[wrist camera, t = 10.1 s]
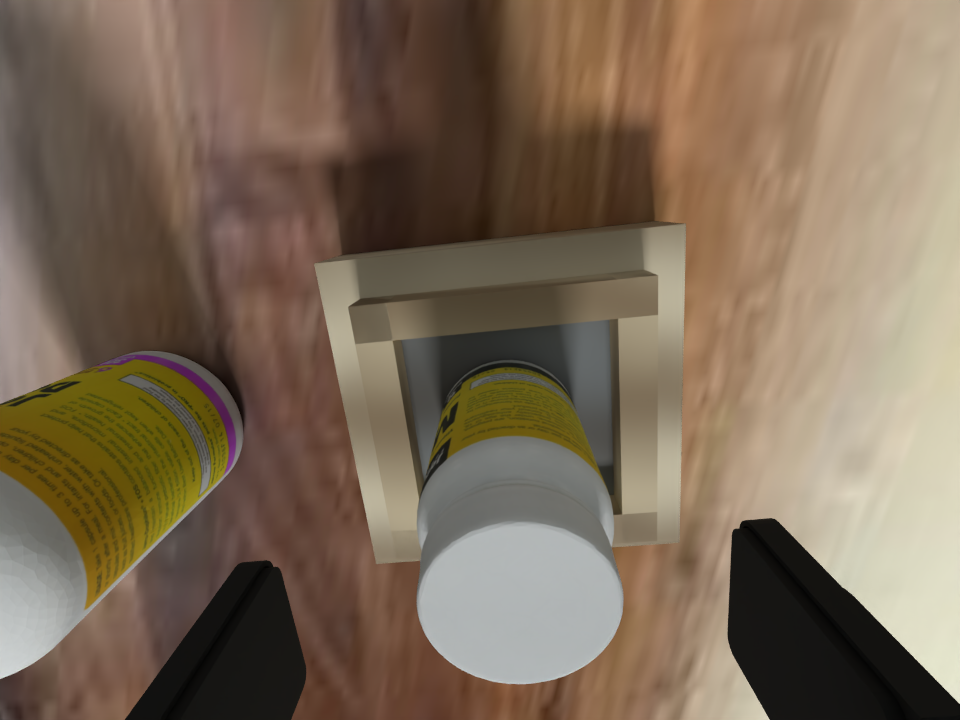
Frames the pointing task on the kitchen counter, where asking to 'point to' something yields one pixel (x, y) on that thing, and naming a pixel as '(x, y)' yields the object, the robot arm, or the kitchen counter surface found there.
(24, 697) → the kitchen counter surface
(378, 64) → the kitchen counter surface
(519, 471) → the supplement bottle
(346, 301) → the plinth
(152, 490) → the supplement bottle
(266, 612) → the robot arm
